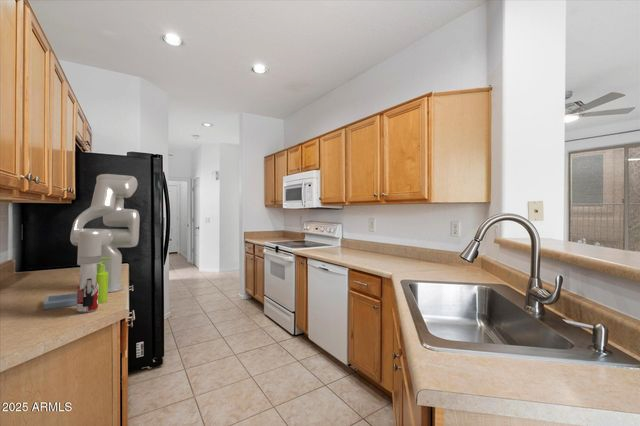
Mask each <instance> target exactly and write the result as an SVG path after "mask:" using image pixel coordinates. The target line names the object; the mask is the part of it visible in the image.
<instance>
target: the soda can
mask: <svg viewBox="0 0 640 426" xmlns="http://www.w3.org/2000/svg"><path fill="white" fill-rule="evenodd" d="M93 287H94V285H93ZM91 288H92V287H91ZM76 289H77V290H76V293H77V306H76V312H77V313H80V314H87V313H92V312H95V311H96V310H97V309H98V308H99V304H98V290H99V285H98V284H97V281H96V285H95V288H94V289H93V305H92V306H87V307H83V297H84V289H82V290H80V289H79V285H77V288H76ZM86 289H87V287H86ZM86 291H87V290H86Z"/></svg>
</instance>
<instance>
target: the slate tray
mask: <svg viewBox="0 0 640 426" xmlns="http://www.w3.org/2000/svg"><path fill="white" fill-rule="evenodd" d="M69 307H77V292H73V293H65V294H64V293H63V294H56V295H48V296H45V298H44V301H43V309H42V311H47V310H56V309H62V308H63V309H64V308H69Z"/></svg>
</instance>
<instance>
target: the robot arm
mask: <svg viewBox="0 0 640 426" xmlns="http://www.w3.org/2000/svg"><path fill="white" fill-rule="evenodd" d="M95 179H96V183H95V186H94V191H93V196H92V199H91V204H90V207H88V208H87V209H85V210H84V211H82V212H81V213H80V214H79V215H78V216H77V217H76V218H75V219H74V221H73V223H72V227H71V231H70V237H69V239H70V242H71V245H73V246H75V247H77V261H76V263H77V264H76V265H77V266H80V268H79V280H78V281H79V284H78V286H79V289H80V290H82V289H84V297H83V307H87V306H92V305H93V289H94V288H95V285H96V276H97V265H98V264H100V263H101V258H102V257H108V258H112V259H111V260H110V259H103V264H104V265H105V272H108V292H107V293H113V292H119V291H122V290H124V289H125V285H123V284H122V266H123V265H122V262H123V257H122V256H123V255H122V253H121V251H120V250H119V249H118V248H133V247H137V246H138V244H139V238H140V222H141V221H140V218H141V217H140V214H139V211H138V210H137V209H135V208H134V209H132V208H124V207H125V206H124V205H125V204H124V203H125V200H124V198H126V199H127V198H130V197H132V196H133V195H134V193H135V192H136V191H137V188H138V180H137V178H136V177H135V176H133V175H127V174H126V175H123V174H114V173H112V174H111V173H105V174H104V173H103V174H102V173H101V174H99V175H97V176H96V178H95ZM101 217H102V222H103V224H104V226H107V227H119V228H84V227H85V225H86V224H87V223H88V222H90V221H93V220H95V219H99V218H101ZM121 227H122V228H123V227H124V229H122V228H121ZM126 227H127V229H125V228H126ZM93 285H94V287H93ZM86 287H87V289H86ZM91 287H92V288H91ZM86 290H87V291H86Z"/></svg>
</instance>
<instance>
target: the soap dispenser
mask: <svg viewBox="0 0 640 426" xmlns="http://www.w3.org/2000/svg"><path fill="white" fill-rule="evenodd" d="M103 259H110V260H111V259H112V258H108V257H102V258H101V263H100V264H97V276H96V281H97V284H98V285H99V290H98V305H99V304H103V303H106V302H108V293H109V292H108V272H105V265H104V264H103Z"/></svg>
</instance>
